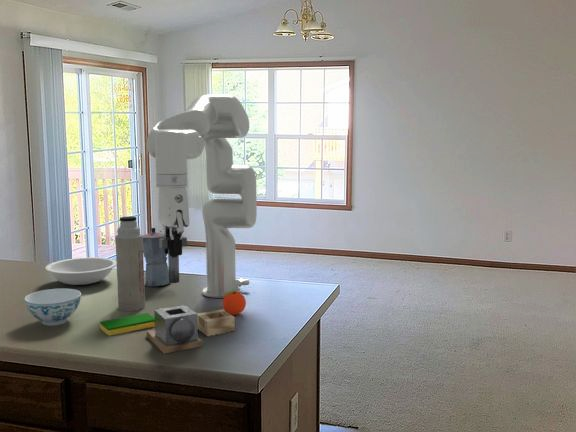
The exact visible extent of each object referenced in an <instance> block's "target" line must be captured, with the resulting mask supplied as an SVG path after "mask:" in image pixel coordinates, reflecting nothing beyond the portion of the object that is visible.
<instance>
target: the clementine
mask: <svg viewBox="0 0 576 432" xmlns="http://www.w3.org/2000/svg"><path fill="white" fill-rule="evenodd" d="M228 292H229V293H228V294H226V293H227V292H226V293H225V294H226V295H225V294H224V296H225V297H224V298H222V308H223V310H224V311H226V312H227V313H229V314H231V315H232V316H236V315H240V314H241V313H242V312H244V310H245V308H246V305H247V302H246V301H247V300H246V297H245V296H244V295H243V294H242V293H241V292H240V293H239V292H236V291H228Z"/></svg>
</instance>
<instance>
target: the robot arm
mask: <svg viewBox="0 0 576 432" xmlns="http://www.w3.org/2000/svg"><path fill="white" fill-rule="evenodd" d="M249 131H250V119H249V116H248V114H247V112H246V109H245V108H244V106H243V104H242V102H241V101H240V100H239V98H237V97H236V96H234V95H232V94H202V95H199V96H197V97H195V98H194V100H193V101H192V102H191V104H190V105H189V106H188V107H187V109H186V110H185V111H183V112H180V113H178V114H175V115H172V116H169V117H166V118H163V119H162V120H160V121H158V122H157V123H156V124H155V125H154V126H153V128H152V129H150V131H149V133H148V135H147V139H146V149H147V153H149V155H150V156H151V157H152V158H154V159H155V185H156V186H155V187H156V188H158V202H157V203H158V209H157V210H158V220H159V223H160V224H161V225H162V227H163V233H164V237H165V238H170V240H169V255H170V256H179V257H180V256H182V255H183V247H182V237H183V233H184V232H185V228H188V227H189V226H190V210H189V199H188V192H187V187H188V167H187V166H188V165H187V164H188V163H187V162H188V161H187V160H194V159H197V158H198V157H200V156H201V155H202V153H203V150H205V159H206V162H205V166H206V185H207V186H206V187H207V190H208V192H210V193H211V194H215V195H232V196H235V195H238V196H240V197H241V198H225V197H224V198H219V197H218V198H210V199H208V200H206V201H205V202H204V204H203V206H202V210H201V211H202V212H201V213H202V214H201V215H202V219H203V225H204V232H205V233H204V234H205V253H206V255H205V256H206V257H205V259H206V287H204V288H203V289H202V292H201V293H202V294H201V295H203V296H204V297H206V298H207V297H208V298H211V299H212V298H214V299H224V297H225V296H224V294H225V293H226V292H227V293H226V294H228V293H229V292H228V291H236V292H239V293H241V287H242V286H249V285H250V280H249V279H248V278H246V279H243V278H240V279H238V278H236V272H237V271H236V267H237V266H236V240H235V238H234V236H233V234H232V233H231V231H230V230H229V229H250V228H253V227H254V226H255V225H256V223H257V210H258V209H257V204H258V203H257V175H256V172H255V169H254V168H253V167H252V166H249V165H246V164H234V161H233V159H234V158H233V151H234V150H233V148H232V145H231V144H230V142H229V141H228V139H241V138H242V139H243V138H245V137H247V135H248V134H249ZM165 253H166V254H167V255H168V248H165ZM226 294H225V295H226Z"/></svg>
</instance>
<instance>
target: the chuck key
mask: <svg viewBox="0 0 576 432" xmlns="http://www.w3.org/2000/svg"><path fill="white" fill-rule="evenodd" d="M169 240H170V238H160V239H159V247H160V248H162V249H165V248H168V254H167V260H168V262H167V265H168V270H169V284H178V283H180V255H179V256H170V255H169ZM187 246H188V238H187V237H186V236H184V235H182V248H184V247H187Z"/></svg>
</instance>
